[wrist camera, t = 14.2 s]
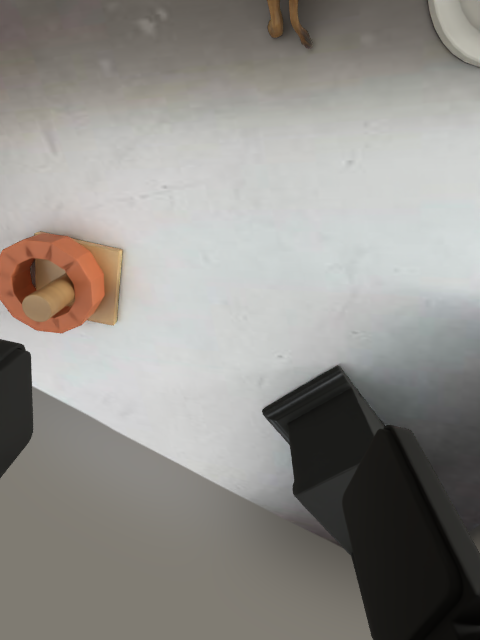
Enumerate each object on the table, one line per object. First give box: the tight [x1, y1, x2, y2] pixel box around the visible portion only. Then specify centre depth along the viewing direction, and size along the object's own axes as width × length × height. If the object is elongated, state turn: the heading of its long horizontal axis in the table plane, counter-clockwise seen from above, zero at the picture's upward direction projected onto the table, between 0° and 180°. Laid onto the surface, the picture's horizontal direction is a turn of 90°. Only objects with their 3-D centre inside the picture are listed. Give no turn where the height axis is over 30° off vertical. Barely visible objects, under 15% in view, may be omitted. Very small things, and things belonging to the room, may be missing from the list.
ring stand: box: [22, 231, 123, 325], centre depth 32 cm, size 8×8×8 cm
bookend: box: [262, 366, 385, 640], centre depth 33 cm, size 23×11×24 cm, turn 37°
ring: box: [0, 233, 105, 333], centre depth 33 cm, size 9×9×3 cm
